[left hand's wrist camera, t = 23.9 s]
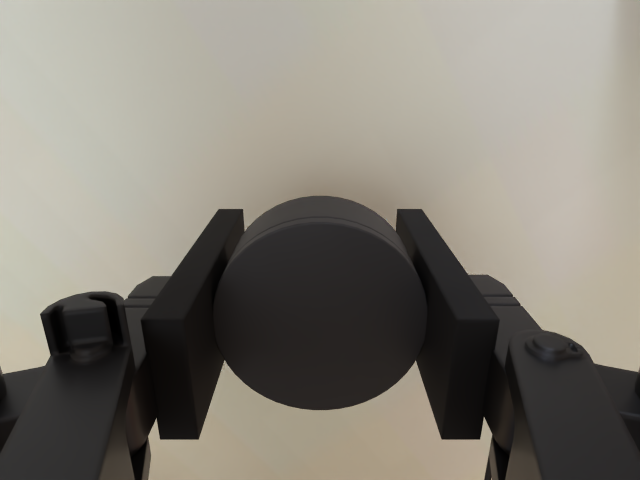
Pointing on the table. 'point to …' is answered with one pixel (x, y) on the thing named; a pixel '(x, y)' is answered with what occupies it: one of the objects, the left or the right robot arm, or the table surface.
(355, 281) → the lid
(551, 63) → the table surface
